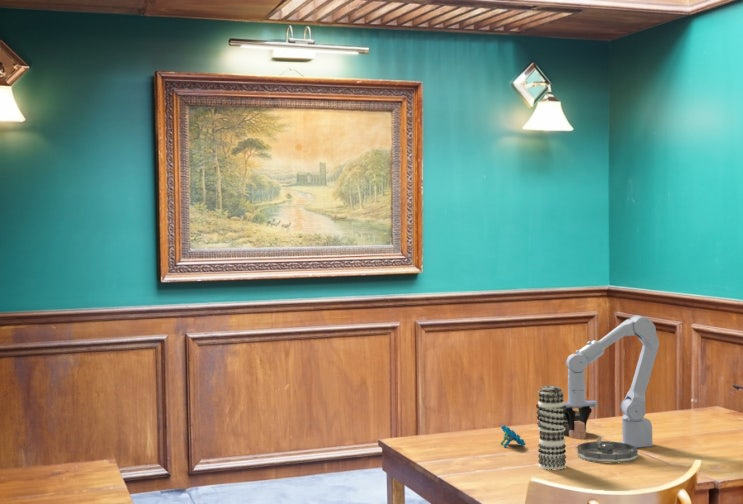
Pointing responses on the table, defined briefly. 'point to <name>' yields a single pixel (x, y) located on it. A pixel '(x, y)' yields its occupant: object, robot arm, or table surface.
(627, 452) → the plate
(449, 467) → the table surface
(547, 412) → the decorative candle
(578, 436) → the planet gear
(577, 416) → the jar
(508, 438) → the blue t-shaped piece
